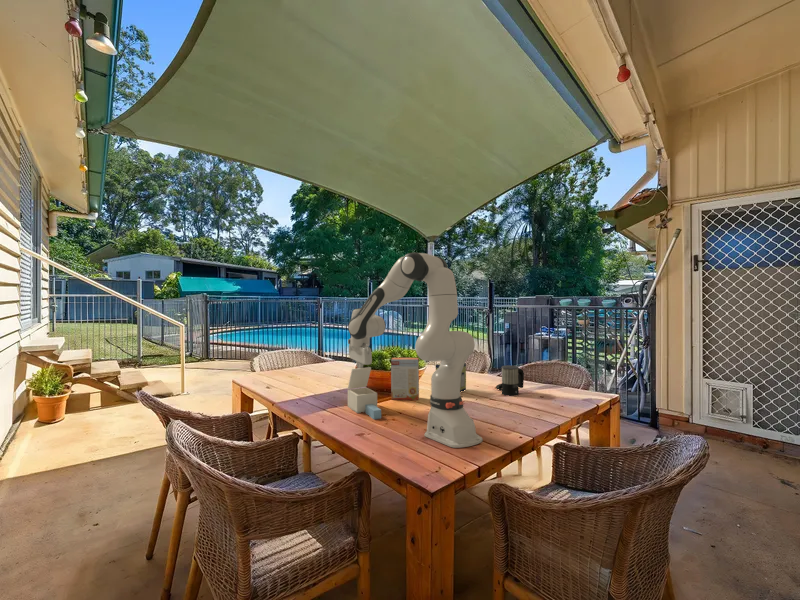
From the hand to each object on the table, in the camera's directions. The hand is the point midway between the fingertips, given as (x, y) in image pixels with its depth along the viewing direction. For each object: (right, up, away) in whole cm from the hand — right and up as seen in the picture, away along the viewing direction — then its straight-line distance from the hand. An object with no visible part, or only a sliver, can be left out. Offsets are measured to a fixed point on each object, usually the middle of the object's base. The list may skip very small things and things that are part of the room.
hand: (360, 370), depth 180 cm
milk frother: (+78, -17, +27) cm, 84 cm away
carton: (+1, -17, -2) cm, 17 cm away
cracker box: (+22, -17, +15) cm, 31 cm away
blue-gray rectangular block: (+7, -18, -13) cm, 23 cm away
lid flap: (0, -4, 0) cm, 4 cm away
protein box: (+47, -17, +28) cm, 58 cm away
